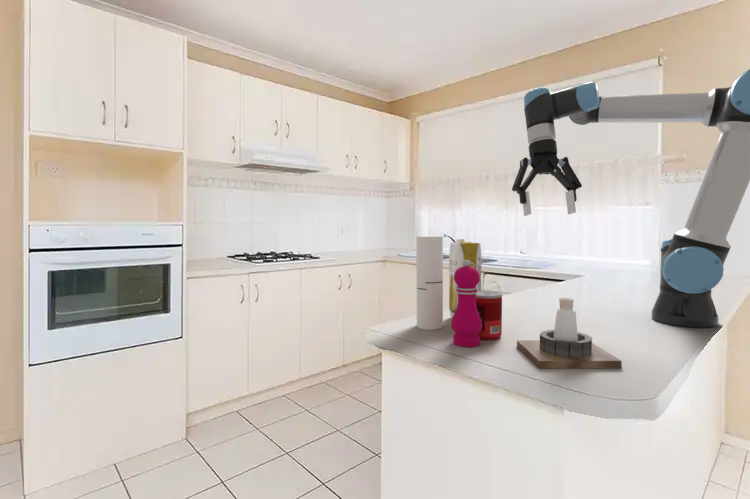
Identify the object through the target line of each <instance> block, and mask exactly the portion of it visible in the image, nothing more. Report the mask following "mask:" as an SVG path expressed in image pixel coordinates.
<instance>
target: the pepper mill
mask: <svg viewBox="0 0 750 499" xmlns="http://www.w3.org/2000/svg"><path fill="white" fill-rule="evenodd" d="M463 265H464V266H463V267H460V268H458V269H457V270H456V271H455V274H454V281H455V283H456V284H457V287H456V290H457V291H456V293H458V305H457V308H456V311H455V313H454V315H453V318H452V317H451V318H452V319H451V320H450V321H451V322H450V324H451V325H450V327H451V329H452V331H453V332H454V334H453V335H452V342H453V344H454V345H456V346H458V347H463V348H473V347H478V346H479V345H480V344H481V340H480V336H479V335H478V333H479V332H480V331H481V330H482V321H481V318H480V315H479V313H478V311H477V308H476V302H475V298H476V294H477V293H478V292H477V289H478V288H477V287H476V285H477V284H478V283H479V281H480V275H479V272H478V271H477V270H476V269H475V268H473V267H470V265H471V262H470V261H469V260H465V261H464V262H463Z"/></svg>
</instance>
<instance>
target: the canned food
mask: <svg viewBox="0 0 750 499" xmlns="http://www.w3.org/2000/svg"><path fill="white" fill-rule="evenodd" d="M477 292H478V293H477V294H476V298H475V302H476V308H477V311H478V313H479V315H480V318H481V321H482V330H481V331H480V332H479V333H478V335H479V336H480V341H481V340H482V341H495V340H499V339H500V338H501V336H502V334H503V333H502V328H503V327H502V325H503V324H502V321H503V313H502V312H503V294H502V292H500V291H496V290H495V291H494V290H481V291H477Z"/></svg>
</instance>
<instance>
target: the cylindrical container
mask: <svg viewBox="0 0 750 499" xmlns="http://www.w3.org/2000/svg"><path fill="white" fill-rule="evenodd" d="M443 276H444V236H443V235H435V234H434V235H431V234H430V235H416V328H418V329H421V330H430V331H431V330H432V331H433V330H434V331H435V330H440V329H442V328H443V327H444V324H443V323H444V319H443V318H444V303H443V302H444V296H443V295H444V282H443V281H444V277H443Z"/></svg>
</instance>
